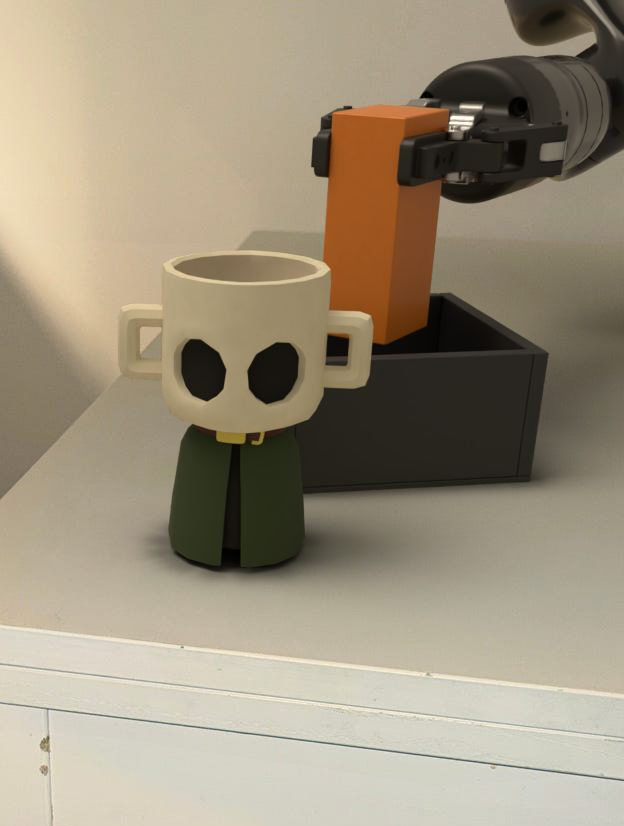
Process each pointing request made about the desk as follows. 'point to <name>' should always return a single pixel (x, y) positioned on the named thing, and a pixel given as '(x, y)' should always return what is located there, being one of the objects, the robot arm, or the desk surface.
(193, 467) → the character mug
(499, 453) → the bin
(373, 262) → the block
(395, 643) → the desk surface
